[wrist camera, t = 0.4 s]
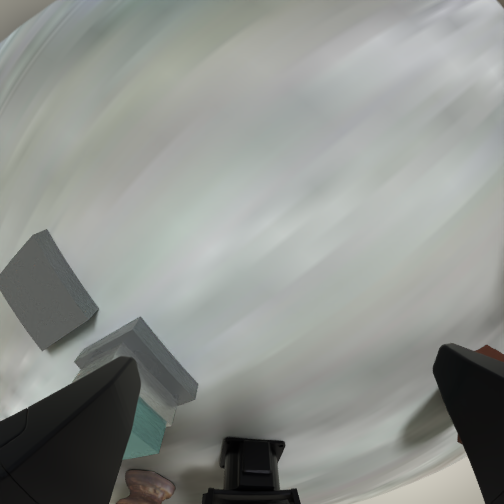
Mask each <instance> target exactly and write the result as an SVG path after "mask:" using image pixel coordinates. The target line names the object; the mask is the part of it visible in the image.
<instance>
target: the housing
mask: <svg viewBox="0 0 504 504" xmlns="http://www.w3.org/2000/svg"><path fill="white" fill-rule="evenodd" d="M119 356H128V357H133V358H134V359H135V360H136V363H137V367H138V371H139V375H140V379H141V389H140V394H139V398H138V403H137V408H136V412H135V417H134V422H133V427H132V431H131V435H130V438H129V441H128V444H127V447H126V450H125V453H124V456H123V459H122V460H125V459H131V458H137V457H142V456H148V455H153V454H158V453H159V450H160V447H161V443H162V439H163V435H164V431H165V428H166V427H170V426H172V422H173V418H174V415H175V411H176V407H177V403H178V400H177V399H176V398H175V397H174V396H173V395H172V394H171V393H170V392H169V391H168V390H167V389H166V388H165V387H164V386H163V385H162V384H161V383H160V382H159V381H158V380H157V379H156V378H155V377H154V376H153V375H152V373H151V372H150V371H149V370H148V369H147V368H146V367H145V366H144V365H143V364H142V362H141V361H140V360H139V359H138V358H137V357H136V356H135V354H134V353H133V352H132V351H131V350H130V349H129V347H128V346H127V345H126V344H125V343H124V342H121V343H120V344H118V345H116V346H114V347H112V348H110V349H108V350H107V351H105V352H103V353H101V354H99V355H97V356H95V357H93V358H92V359H90V360H88V361H86V363H85V364H84V366H83V367H82V369H81V370H80V371H79V373H78V374H77V376H76V377H75V379H74V380H73V382H75V381H77V380H79V379H80V378H82V377H84V376H86V375H88V374H89V373H91V372H93V371H95V370H96V369H98V368H100V367H102V366H104V365H105V364H107V363H109V362H111V361H112V360H114V359H116V358H118V357H119Z"/></svg>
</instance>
